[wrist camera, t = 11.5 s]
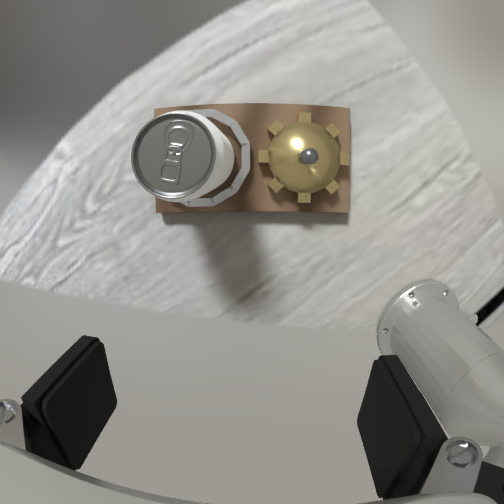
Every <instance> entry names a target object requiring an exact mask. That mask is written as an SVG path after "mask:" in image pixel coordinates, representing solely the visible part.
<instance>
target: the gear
mask: <svg viewBox="0 0 504 504" xmlns="http://www.w3.org/2000/svg"><path fill="white" fill-rule="evenodd" d="M296 116H297V122H294V123H291V124H289V125H287V126H285V127H283V126H282V125H281V124H280V123H279V122H278V121H277V120H276V121H275V122H274V123H273V124H272V125H271V126H270V127H269V128H268V129H267V131H268V132H269V133H270V134H271V135H272V136H273V137H274V138H273V139H272V141H271V143H270V145H269V149H268V150H258V163H268V165H269V168H270V171H271V173H272V175H273V176H274V177H273V178H272V179H271V180H270V181H269V182H268V183H267V184H268V185H269V186H270V187H271V188H272V189H273V190H274V191H275V192H276V193H277V192H278V191H279V190H280V189H281V188H282V187H285V188H287V189H289V190H291V191H294V192H296V201H297V202H298V203H310V200H311V193H313V192H316V191H319V190H321V189H323V188H324V189H325V190H326V191H327V192H328V193H329V194H333V193H334V192H335V191H336V190H337V189H338V188H339V187H340V185H339V184H338V183H337V182H336V181H335V180H334V178H335V176H336V174H337V172H338V169H339V166H340V165H349V153H340V151H339V147H338V144H337V142H336V140H335V139H334V138H335V137H336V136H337V135H338V134H339V133H340V131H339V129H338V128H337V127H336V126H335V125H334V124H333V123H331V124H329V125H328V126H327V127H326V128H323V127H322V126H320V125H318V124H315V123H312V122H311V113H305V112H298V113H297V115H296Z"/></svg>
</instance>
